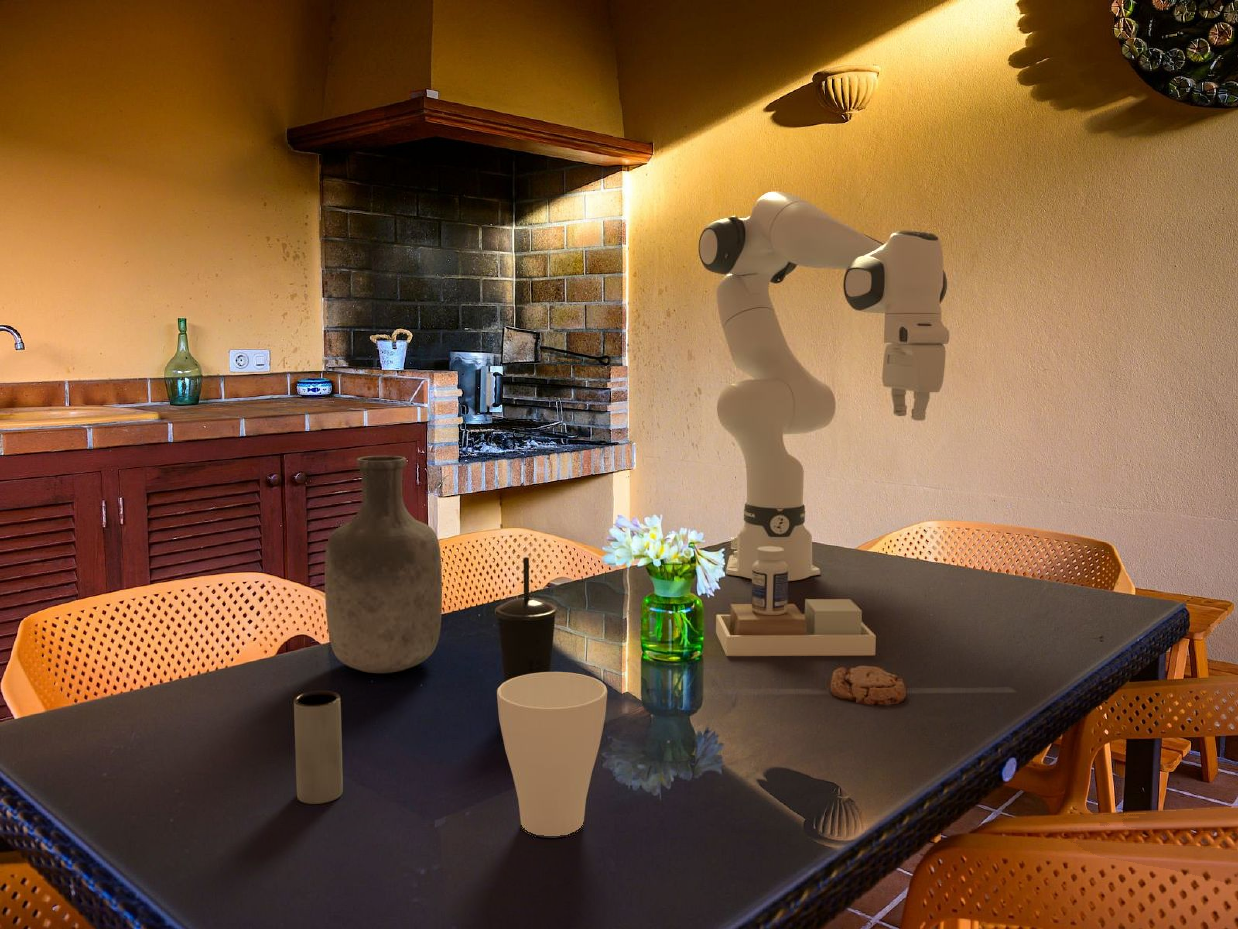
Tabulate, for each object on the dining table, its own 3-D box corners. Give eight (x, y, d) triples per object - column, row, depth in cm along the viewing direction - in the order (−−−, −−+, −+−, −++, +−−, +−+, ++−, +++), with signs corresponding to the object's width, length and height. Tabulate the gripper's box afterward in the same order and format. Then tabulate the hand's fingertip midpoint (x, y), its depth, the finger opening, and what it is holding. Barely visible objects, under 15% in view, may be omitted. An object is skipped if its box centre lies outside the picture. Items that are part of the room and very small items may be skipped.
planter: (302, 785, 108) (299, 690, 106) (346, 784, 108) (344, 690, 107) (292, 805, 103) (288, 706, 102) (338, 804, 104) (335, 705, 102)
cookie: (887, 712, 131) (888, 689, 130) (813, 694, 137) (814, 672, 137) (920, 693, 138) (921, 671, 138) (848, 676, 145) (849, 656, 145)
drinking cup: (484, 714, 129) (482, 556, 126) (534, 700, 134) (533, 549, 131) (519, 732, 123) (518, 567, 120) (570, 717, 128) (570, 559, 125)
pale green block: (804, 636, 161) (805, 599, 160) (848, 636, 161) (849, 599, 160) (814, 650, 154) (815, 611, 153) (860, 650, 154) (861, 611, 153)
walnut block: (729, 635, 161) (730, 604, 161) (793, 635, 162) (794, 603, 161) (738, 652, 152) (739, 619, 152) (805, 652, 153) (806, 619, 152)
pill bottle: (785, 607, 159) (787, 545, 158) (788, 616, 154) (789, 552, 152) (750, 606, 159) (752, 544, 158) (751, 615, 154) (753, 551, 153)
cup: (609, 801, 105) (609, 672, 103) (603, 852, 94) (604, 710, 93) (506, 799, 105) (505, 670, 103) (489, 849, 95) (488, 707, 93)
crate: (715, 636, 163) (716, 614, 162) (853, 635, 164) (854, 614, 163) (726, 659, 151) (726, 636, 151) (874, 659, 152) (875, 636, 151)
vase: (429, 646, 157) (426, 450, 153) (454, 678, 142) (452, 462, 138) (321, 658, 151) (315, 454, 147) (335, 693, 136) (329, 467, 132)
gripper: (874, 332, 176) (871, 413, 178) (912, 331, 156) (909, 422, 158) (911, 333, 177) (907, 413, 178) (953, 332, 156) (949, 423, 158)
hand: (908, 418), depth 168 cm, fingers open, 8 cm apart
